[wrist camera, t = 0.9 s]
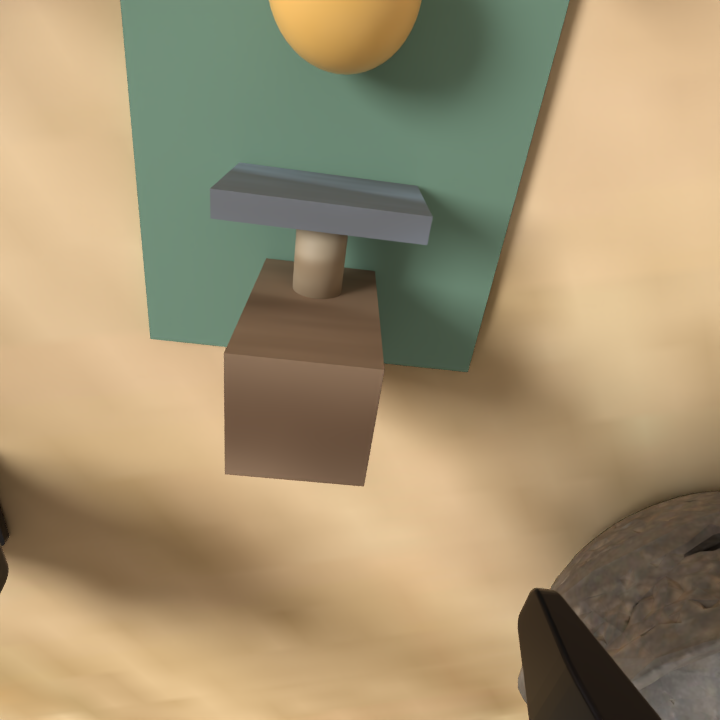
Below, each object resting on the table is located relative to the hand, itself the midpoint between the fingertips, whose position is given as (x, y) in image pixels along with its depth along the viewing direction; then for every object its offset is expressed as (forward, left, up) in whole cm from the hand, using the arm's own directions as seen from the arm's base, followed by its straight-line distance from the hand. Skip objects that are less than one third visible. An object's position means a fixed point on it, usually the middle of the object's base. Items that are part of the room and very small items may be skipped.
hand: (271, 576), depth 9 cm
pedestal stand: (+1, 0, -12) cm, 12 cm away
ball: (+9, 0, -11) cm, 14 cm away
